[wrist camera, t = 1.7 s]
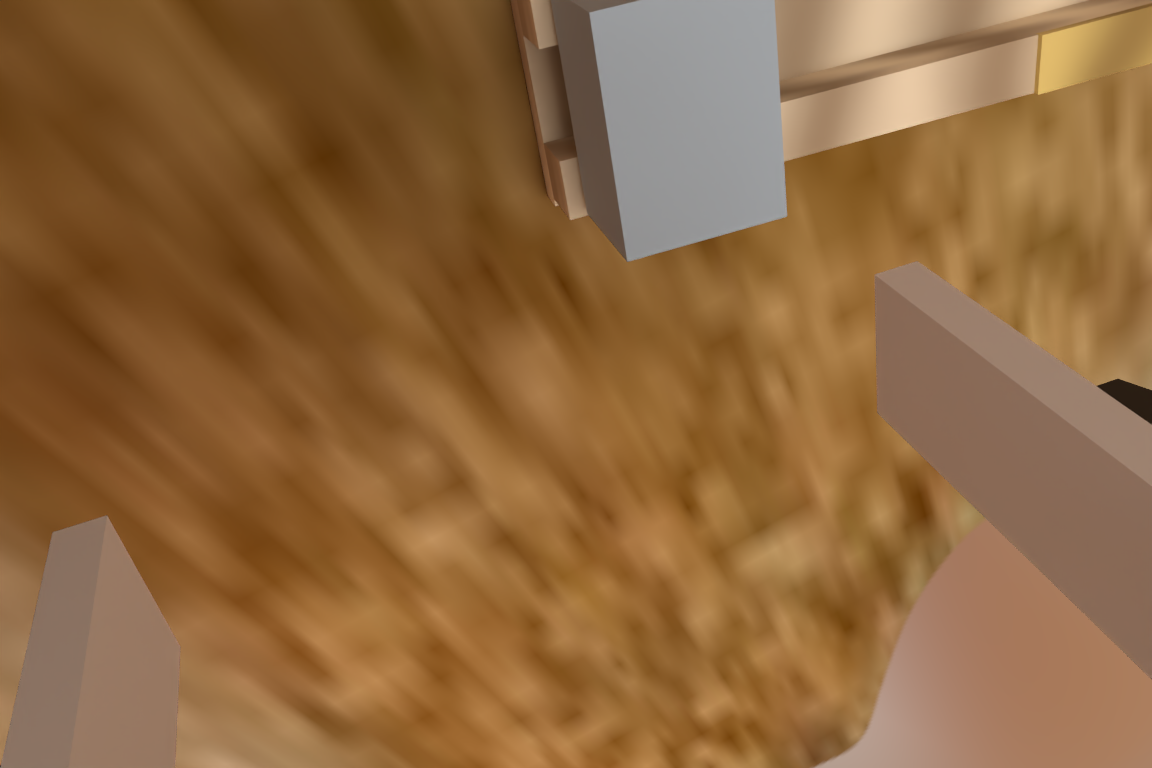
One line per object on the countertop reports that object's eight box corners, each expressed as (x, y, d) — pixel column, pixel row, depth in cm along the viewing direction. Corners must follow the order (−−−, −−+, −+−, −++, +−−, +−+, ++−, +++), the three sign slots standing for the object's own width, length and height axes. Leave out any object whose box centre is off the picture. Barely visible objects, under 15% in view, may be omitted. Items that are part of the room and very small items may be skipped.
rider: (570, 192, 35) (627, 261, 30) (531, -25, 31) (589, 12, 26) (708, 155, 35) (787, 216, 30) (686, -62, 32) (772, -32, 27)
